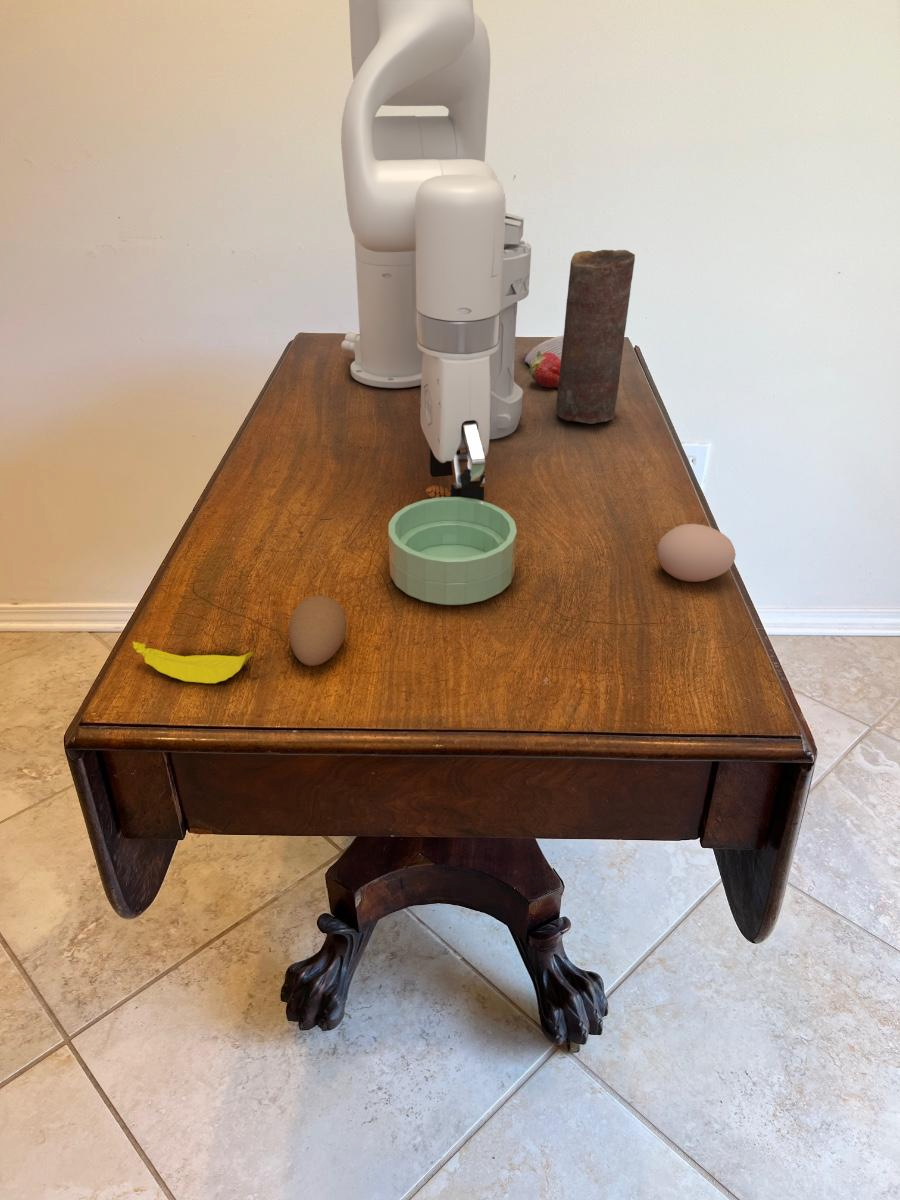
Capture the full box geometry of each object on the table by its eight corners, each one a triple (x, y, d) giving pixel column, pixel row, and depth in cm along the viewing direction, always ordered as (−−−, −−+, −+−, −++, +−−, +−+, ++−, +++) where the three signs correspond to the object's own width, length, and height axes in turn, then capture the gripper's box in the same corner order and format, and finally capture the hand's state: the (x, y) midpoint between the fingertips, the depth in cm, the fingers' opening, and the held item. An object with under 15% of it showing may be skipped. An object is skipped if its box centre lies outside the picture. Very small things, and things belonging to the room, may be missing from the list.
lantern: (525, 411, 107) (538, 198, 93) (516, 444, 99) (528, 216, 85) (426, 403, 109) (424, 194, 95) (409, 436, 101) (404, 211, 86)
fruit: (571, 392, 113) (574, 356, 110) (527, 390, 113) (529, 354, 110) (571, 381, 116) (574, 346, 113) (528, 379, 117) (530, 344, 114)
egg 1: (311, 616, 69) (295, 679, 66) (288, 585, 66) (269, 649, 63) (360, 613, 68) (346, 677, 65) (339, 580, 65) (323, 646, 61)
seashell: (602, 356, 115) (532, 337, 115) (589, 392, 119) (521, 374, 119) (601, 332, 124) (537, 314, 123) (590, 366, 127) (526, 349, 127)
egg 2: (662, 549, 71) (744, 554, 70) (660, 509, 75) (738, 514, 74) (653, 590, 75) (731, 596, 74) (651, 551, 78) (726, 556, 78)
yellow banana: (144, 651, 66) (126, 679, 64) (139, 631, 65) (121, 658, 62) (262, 659, 66) (249, 687, 63) (259, 638, 65) (246, 667, 62)
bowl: (365, 584, 75) (362, 535, 72) (435, 531, 82) (435, 485, 79) (471, 625, 70) (472, 575, 67) (535, 565, 77) (539, 518, 74)
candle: (612, 435, 102) (634, 262, 90) (552, 429, 103) (566, 258, 91) (615, 411, 108) (636, 246, 96) (558, 406, 109) (572, 243, 97)
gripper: (400, 303, 81) (404, 462, 91) (437, 366, 68) (437, 545, 78) (475, 298, 83) (470, 456, 93) (526, 360, 69) (514, 536, 79)
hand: (455, 496), depth 85 cm, fingers open, 9 cm apart
